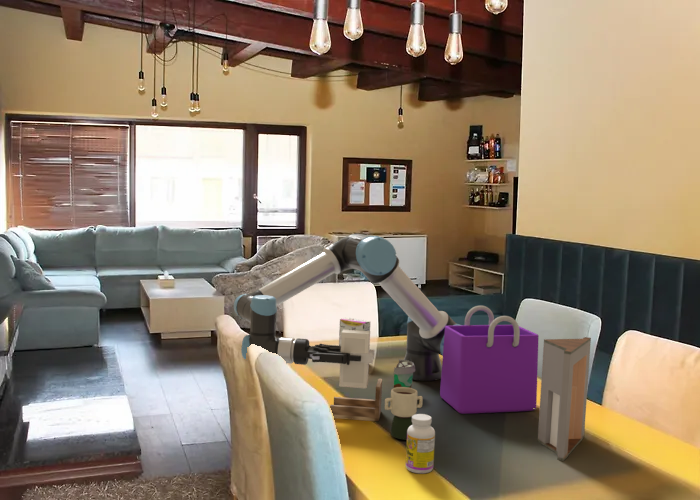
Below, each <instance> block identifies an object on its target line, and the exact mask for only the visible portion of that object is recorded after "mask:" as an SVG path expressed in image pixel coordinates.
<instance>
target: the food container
mask: <svg viewBox="0 0 700 500" xmlns="http://www.w3.org/2000/svg"><path fill="white" fill-rule="evenodd" d="M413 372H415V366H414V363H413V362H411V361H408V360H404V359H401V358H400V359H399V358H398V362H397V364H396V367H394V369H393V388H396V387H408V388H412V387H413V386H412V385H413V379H412V378H413Z"/></svg>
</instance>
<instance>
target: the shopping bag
mask: <svg viewBox="0 0 700 500" xmlns="http://www.w3.org/2000/svg"><path fill="white" fill-rule="evenodd" d="M479 311H480V312H481V311H482V312H484V313H486V314H487V316H488V324H475V325H474V324H471V318H472V316H473V315H474V314H475V313H476V312H479ZM501 322H508V323H509V324H499V323H501ZM538 360H539V334H537V333H535V332H533V331H531V330H529V329H528V328H527V329H526V328H524V327H523V326H519V323H518V322H517V320H516V319H515V318H513V317H511V316H509V315H500V316H497V317H496V318H495V316H494V313H493V311H492V310H491V308H489V307H488V306H485V305H475V306H473V307H472V308H470V309H469V310H468V311H467V313H466V315H465V318H464V324H463V325H462V324H460V325H455V326H445V334H444V347H443V356H442V362H441V365H442V374H441V379H440V388H439V389H440V390H439V395H440V398H441V399H442V400H444V402H446V403H447V404H448V405H450V406H451V407H452V409H454V410H455V411H456V412H458V413H459V414H460V415H461V414H462V415H463V414H464V415H467V414H469V415H470V414H493V413H514V412H532V411H536V409H537V397H538V396H537V395H538V394H537V393H538V389H537V388H538V365H539V361H538ZM533 408H535V409H533Z"/></svg>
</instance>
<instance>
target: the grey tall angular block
mask: <svg viewBox="0 0 700 500" xmlns="http://www.w3.org/2000/svg"><path fill="white" fill-rule="evenodd" d="M591 339H592V338H591V337H587V336H586V337H585V336H584V337H582V338H557V339H556V338H555V339H554V338H553V339H551V338H549V339H546V338H545V339H543V352H542V366H541V367H542V368H541V380H540V381H541V382H540V397H539V400H540V401H539V410H538V411H539V414H538V416H539V417H538V429H537V442H538V443H539V444H541V445H543V446H545V447H546V448H547V449H549V450H550V451H551V452H553V453H555V454H556V455H557V459H556V460H558V461H562V462H564V461H565V460H566V459H567V458H568V457H569V455H570V454H571V453H572V452H573V451H574V450H575V448H576V447H577V446H578V445H579V444H580V443H581V441H582V440H583V439H584V438H585V430H586V429H585V426H586V417H587V416H586V414H587V400H588V399H587V398H588V387H589V386H588V384H589V371H590V369H589V368H590V357H591V356H590V354H591V343H592V342H591V341H592V340H591Z"/></svg>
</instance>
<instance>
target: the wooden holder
mask: <svg viewBox="0 0 700 500" xmlns="http://www.w3.org/2000/svg"><path fill="white" fill-rule="evenodd" d="M382 393H383V379H382V378H377V382H376V385H375V396H374V397H375V399H372V398H371V399H370V398H369V399H368V398H358V397H355V398H354V397H341V396H334V397H333V404H330V405H329V409H330V408H331V410H332V413H333V416H334V418H333V419H342V420H355V421H357V420H358V421H369V422H379V421H380V417H381V413H382V395H383V394H382Z"/></svg>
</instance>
